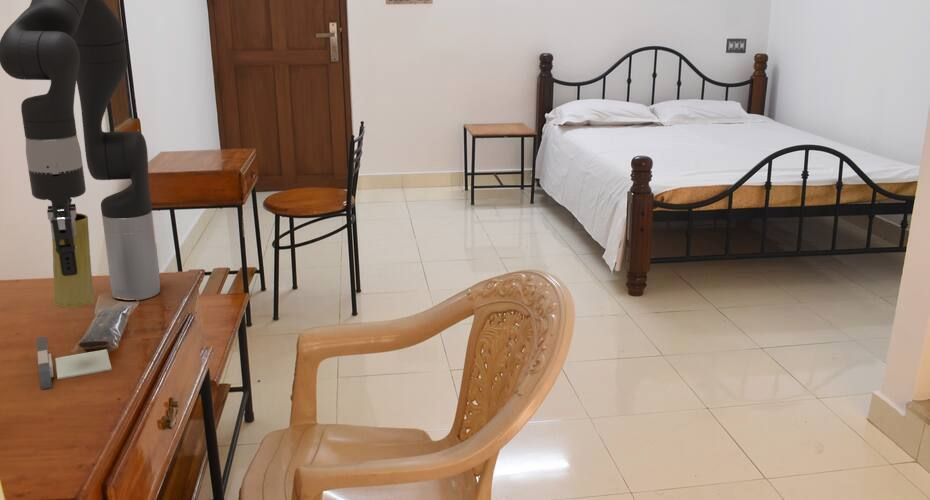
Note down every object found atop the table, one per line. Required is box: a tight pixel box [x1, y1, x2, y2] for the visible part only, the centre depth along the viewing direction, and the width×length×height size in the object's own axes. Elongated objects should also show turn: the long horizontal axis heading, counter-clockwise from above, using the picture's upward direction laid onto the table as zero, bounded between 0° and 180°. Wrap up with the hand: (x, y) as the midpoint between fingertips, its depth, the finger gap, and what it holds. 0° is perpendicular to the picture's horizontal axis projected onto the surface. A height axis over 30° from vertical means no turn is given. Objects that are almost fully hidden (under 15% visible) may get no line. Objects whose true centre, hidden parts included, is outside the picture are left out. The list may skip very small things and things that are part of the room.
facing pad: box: [55, 348, 113, 380], centre depth 133 cm, size 8×8×1 cm
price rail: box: [35, 336, 55, 390], centre depth 131 cm, size 14×2×3 cm, turn 28°
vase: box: [51, 212, 96, 309], centre depth 128 cm, size 6×6×14 cm
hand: (70, 268), depth 128 cm, fingers closed on vase, 5 cm apart
